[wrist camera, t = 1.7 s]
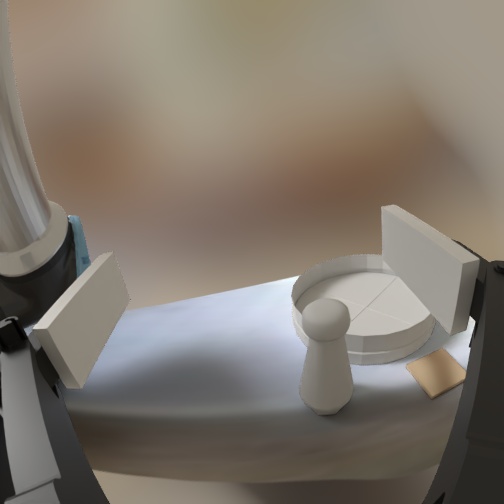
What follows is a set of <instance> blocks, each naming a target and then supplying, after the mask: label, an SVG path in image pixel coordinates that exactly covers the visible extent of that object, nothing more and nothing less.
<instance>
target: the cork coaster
mask: <svg viewBox="0 0 504 504" xmlns="http://www.w3.org/2000/svg"><path fill="white" fill-rule="evenodd" d="M406 368H407V369H408V371H409V372H410V373H411V374H412V376H413V377H414V378H415V379H416V381H417V382H418V383H419V384H420V385H421V387H422V388H423V389H424V390H425V392H426V393H427V394H428V395H429V397H430V398H431V399H433V398H435V397H437V396H438V395H440V394H442V393H444V392H446V391H447V390H449V389H451V388H453V387H454V386H456V385H458V384H460V383H461V382H463V381H465V376H466V371H465V370H464V369H463V368H462V367H461V366H460V365H459V364H458V363H457V362H456V361H455V360H454V359H453V358H452V357H451V356H450V355H449V354H448V353H447V352H446V351H445V350H444V349H443V348H441V349H439V350H437V351H435V352H433V353H431V354H429V355H426V356H424V357H422V358H420V359H418V360H416V361H413V362H411V363H409V364H407V365H406Z"/></svg>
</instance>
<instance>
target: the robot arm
mask: <svg viewBox="0 0 504 504" xmlns="http://www.w3.org/2000/svg"><path fill="white" fill-rule="evenodd" d="M381 213H382V260H383V261H384V262H385V263H386V264H387V265H388V266H389V267H390V268H391V269H392V270H393V271H394V272H395V273H396V274H397V276H398V277H399V278H400V279H401V280H402V281H403V282H404V283H405V284H406V285H407V287H408V288H409V289H410V290H411V291H412V292H413V293H414V294H415V295H416V297H417V298H418V299H419V300H420V301H421V302H422V303H423V305H424V306H425V307H426V308H427V309H428V310H429V312H430V313H431V314H432V315H433V316H434V317H435V319H436V320H437V321H438V322H439V323H440V324H441V326H442V327H443V328H444V329H445V331H446V332H447V333H448V334H449V335H450V336H451V335H454V334H457V333H460V332H462V331H465V330H466V329H467V325H468V321H469V317H470V316H471V317H472V318H473V319H474V320H475V321H476V322H475V326H474V330H473V334H472V337H471V341H470V344H469V347H471V349H470V355H469V361H468V366H467V371H466V376H465V381H464V385H463V390H462V394H461V398H460V402H459V406H458V409H457V413H456V417H455V420H454V423H453V427H452V430H451V433H450V436H449V439H448V443H447V445H446V448H445V451H444V454H443V457H442V460H441V462H440V465H439V467H438V470H437V473H436V475H435V478H434V480H433V482H432V485H431V487H430V489H429V491H428V494H427V496H426V497H425V499H424V501H423V503H422V504H504V261H492V262H490V263H489V262H488V261H487V260H485V259H484V258H482V257H481V256H479V255H478V254H476V253H475V252H473V251H472V250H471V249H469V248H467V247H466V246H465V245H463V244H462V243H460V242H458V241H455V240H452V239H450V238H448V237H447V236H445V235H443V234H442V233H440V232H439V231H437V230H436V229H434V228H433V227H431V226H429V225H428V224H426V223H424V222H423V221H421V220H420V219H418V218H416V217H415V216H413V215H411V214H410V213H408V212H407V211H405V210H403V209H401V208H400V207H398V206H396V205H390V206H383V207H381ZM130 300H131V299H130V297H129V294H128V292H127V289H126V286H125V283H124V280H123V277H122V275H121V272H120V269H119V266H118V263H117V260H116V257H115V254H114V252H110V253H105V254H101V255H100V256H99V257H98V258H97V259H96V260H95V261H94V262H93V263H92V264H91V262H90V259H89V254H88V249H87V245H86V240H85V237H84V232H83V228H82V224H81V221H80V218H79V217H78V216H66V213H65V212H64V210H63V208H62V207H61V206H60V205H58V204H57V203H55V202H52V201H48V199H47V197H46V194H45V191H44V188H43V185H42V182H41V179H40V176H39V173H38V170H37V167H36V163H35V160H34V157H33V153H32V150H31V146H30V143H29V139H28V135H27V131H26V127H25V123H24V119H23V115H22V110H21V105H20V101H19V96H18V91H17V85H16V79H15V73H14V66H13V60H12V52H11V42H10V32H9V18H8V0H0V504H110V503H109V501H108V500H107V498H106V496H105V494H104V492H103V490H102V489H101V487H100V485H99V483H98V481H97V479H96V477H95V475H94V473H93V471H92V469H91V467H90V465H89V462H88V460H87V458H86V456H85V454H84V451H83V449H82V447H81V445H80V442H79V440H78V437H77V435H76V433H75V430H74V428H73V425H72V422H71V420H70V417H69V414H68V412H67V409H66V406H65V403H64V400H63V397H62V394H61V391H60V389H59V388H58V387H57V383H58V378H59V377H60V379H61V380H62V382H63V383H64V385H65V386H66V388H68V389H82V388H83V386H84V384H85V382H86V380H87V378H88V376H89V374H90V372H91V370H92V369H93V367H94V365H95V363H96V361H97V359H98V357H99V355H100V353H101V351H102V350H103V348H104V346H105V344H106V342H107V340H108V339H109V337H110V335H111V333H112V331H113V330H114V328H115V326H116V324H117V322H118V321H119V319H120V317H121V315H122V314H123V312H124V310H125V308H126V307H127V305H128V303H129V302H130ZM35 324H36V325H35ZM32 325H35V326H34V328H33V329H32V330H33V331H32V332H31V333H30V334H29V336H28V337H27V335H26V333H25V331H24V328H27V327H30V326H32Z"/></svg>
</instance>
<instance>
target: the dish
mask: <svg viewBox="0 0 504 504" xmlns="http://www.w3.org/2000/svg"><path fill="white" fill-rule="evenodd" d="M291 297H292V304H293V307H292V318H293V324H294V328H295V331H296V334H297V336H298V337H299V338H300V339H301V341H302V342H303V343H304V345H305V346H307V347H308V342H309V337H308V336H307V335H306V334H305V333H304V331H303V328H302V312H303V310H304V309H305V307H306V306H307V305H308V304H310V303H312V302H314V301H315V300H319V299H323V298H330V299H336V300H339V301H341V302H342V303H344V304H345V305H346V306H347V307H348V310H349V314H350V319H351V321H350V327H349V329H348V331H347V333H346V334H345V335H344V336H345V341H346V346H347V352H348V357H349V362H350V364H354V365H377V364H385V363H389V362H392V361H396V360H399V359H402V358H405V357H406V356H408V355H410V354H412V353H413V352H415V351H417V350H418V349H420V348H421V347H422V346H423V345H424V344H425V342H426V341H427V340H428V339H429V338H430V336H431V334H432V332H433V329H434V326H435V323H436V319H435V317H434V316H433V315H432V314H431V313H430V312H429V310H428V309H427V308H426V307H425V306H424V305H423V303H422V302H421V301H420V300H419V299H418V298H417V297H416V295H415V294H414V293H413V292H412V291H411V290H410V289H409V288H408V287H407V285H406V284H405V283H404V282H403V281H402V280H401V279H400V278H399V277H398V276H397V274H396V273H395V272H394V271H393V270H392V269H391V268H390V267H389V266H388V265H387V264H386V263H385V262H384V261H383V260H382V255H371V254H363V255H349V256H344V257H338V258H334V259H331V260H328V261H325V262H321V263H319V264H318V265H316V266H313V267H311V268H310V269H308V270H307V271H306V272H304V273H303V274H302V275H301V276H299V278H298V279H297V281H296V282H295V284H294V285H293V290H292V295H291Z"/></svg>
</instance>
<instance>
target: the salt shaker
mask: <svg viewBox="0 0 504 504" xmlns="http://www.w3.org/2000/svg"><path fill="white" fill-rule="evenodd" d="M350 321H351V319H350V314H349V310H348V307H347V306H346V305H345V304H344V303H342V302H341V301H339V300H336V299H330V298H323V299H319V300H315V301H314V302H312V303H310V304H308V305H307V306H306V307H305V309H304V310H303V312H302V328H303V331H304V333H305V334H306V335H307V336H308V337H309V342H308V349H307V354H306V359H305V364H304V369H303V373H302V378H301V383H300V396H301V398H302V400H303V401H304V403H305V404H306V405H307V406H308V407H309V408H311V409H312V410H313V411H315V412H316V413H317V414H318V415H330V414H336V413H337V412H338V411H339V410H340V409H341V408H342V407H343V406H344V405H345V404H346V403H348V402H349V400H350V398H351V396H352V394H353V391H354V385H353V379H352V374H351V368H350V362H349V357H348V352H347V346H346V341H345V336H344V335H345V334H346V333H347V331H348V329H349V327H350Z"/></svg>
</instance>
